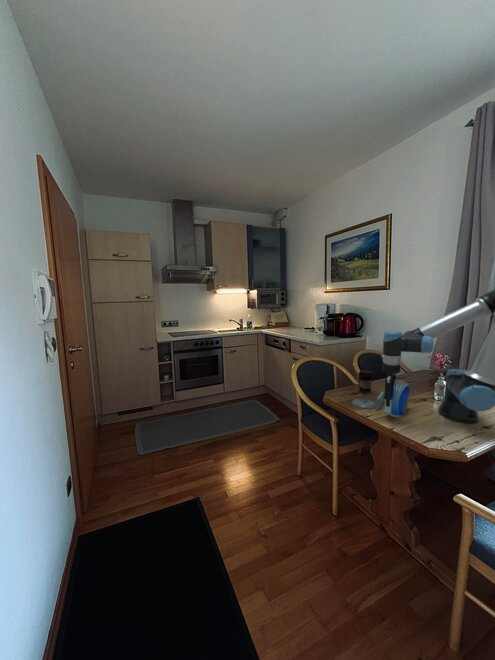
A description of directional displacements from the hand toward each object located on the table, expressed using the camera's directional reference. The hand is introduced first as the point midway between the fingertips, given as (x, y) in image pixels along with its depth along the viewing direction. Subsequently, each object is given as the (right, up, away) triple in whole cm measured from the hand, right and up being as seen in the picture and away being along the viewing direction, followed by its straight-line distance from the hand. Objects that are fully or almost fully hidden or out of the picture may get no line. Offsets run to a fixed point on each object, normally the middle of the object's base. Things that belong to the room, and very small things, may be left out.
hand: (389, 408), depth 125 cm
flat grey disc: (-6, -2, +15) cm, 16 cm away
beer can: (+1, -2, -1) cm, 3 cm away
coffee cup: (+3, 0, +33) cm, 33 cm away
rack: (+7, -3, +10) cm, 12 cm away
